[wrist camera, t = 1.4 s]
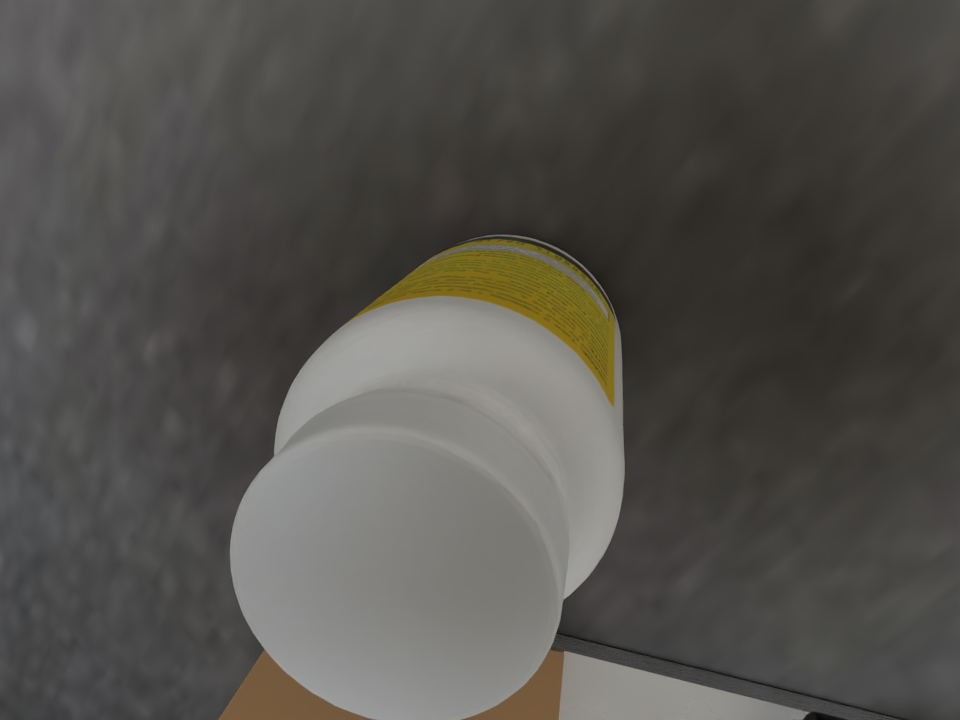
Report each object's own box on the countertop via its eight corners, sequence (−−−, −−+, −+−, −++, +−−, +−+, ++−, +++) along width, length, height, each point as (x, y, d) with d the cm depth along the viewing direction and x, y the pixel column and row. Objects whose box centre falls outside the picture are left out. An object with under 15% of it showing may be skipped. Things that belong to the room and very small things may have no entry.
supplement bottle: (373, 250, 18) (113, 389, 8) (606, 213, 16) (601, 327, 7) (417, 460, 19) (237, 777, 10) (634, 440, 18) (660, 775, 9)
